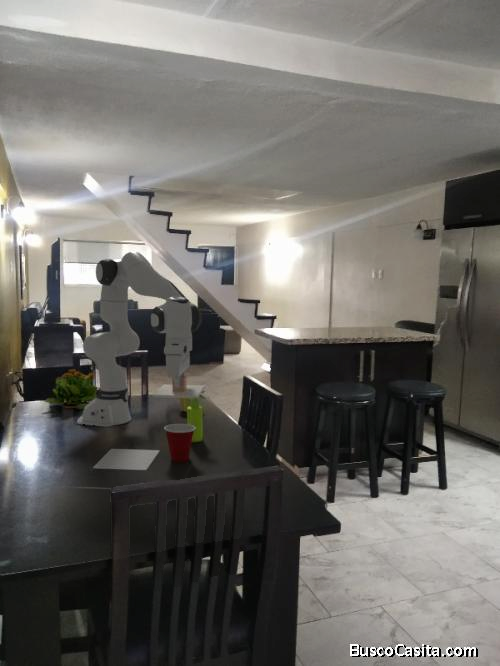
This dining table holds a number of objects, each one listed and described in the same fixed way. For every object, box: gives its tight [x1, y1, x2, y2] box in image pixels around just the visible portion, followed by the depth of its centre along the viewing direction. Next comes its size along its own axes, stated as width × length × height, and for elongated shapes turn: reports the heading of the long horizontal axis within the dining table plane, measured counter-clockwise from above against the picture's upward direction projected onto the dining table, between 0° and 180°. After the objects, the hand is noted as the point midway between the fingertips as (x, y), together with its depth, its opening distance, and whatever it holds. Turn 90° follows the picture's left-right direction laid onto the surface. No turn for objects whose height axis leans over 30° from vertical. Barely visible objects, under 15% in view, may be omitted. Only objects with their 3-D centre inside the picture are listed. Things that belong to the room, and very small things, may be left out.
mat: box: [92, 448, 160, 471], centre depth 173 cm, size 18×18×1 cm
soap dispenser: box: [186, 389, 206, 443], centre depth 192 cm, size 6×7×20 cm
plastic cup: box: [163, 423, 196, 463], centre depth 173 cm, size 11×11×12 cm
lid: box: [151, 375, 206, 399], centre depth 171 cm, size 15×15×5 cm
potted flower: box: [43, 368, 99, 410], centre depth 239 cm, size 25×24×18 cm
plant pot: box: [178, 394, 201, 413], centre depth 234 cm, size 10×10×10 cm
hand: (179, 385), depth 171 cm, fingers closed on lid, 4 cm apart
